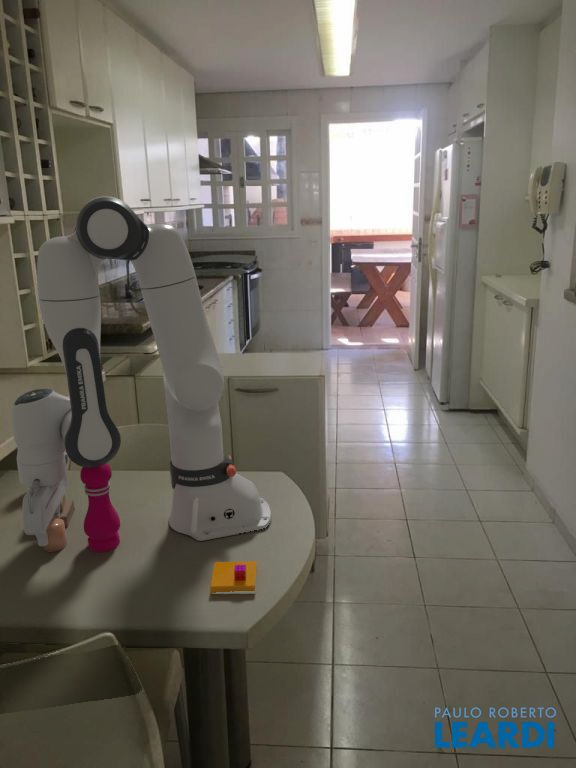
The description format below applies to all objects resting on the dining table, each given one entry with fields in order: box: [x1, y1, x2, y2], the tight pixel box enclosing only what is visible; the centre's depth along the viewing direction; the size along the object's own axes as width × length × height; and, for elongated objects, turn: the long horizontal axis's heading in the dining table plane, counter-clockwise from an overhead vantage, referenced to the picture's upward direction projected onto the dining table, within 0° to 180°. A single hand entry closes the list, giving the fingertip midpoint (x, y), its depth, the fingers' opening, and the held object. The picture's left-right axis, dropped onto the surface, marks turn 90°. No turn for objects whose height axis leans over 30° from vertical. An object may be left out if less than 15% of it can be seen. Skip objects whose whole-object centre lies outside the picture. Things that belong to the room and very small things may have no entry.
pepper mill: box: [79, 463, 121, 553], centre depth 127 cm, size 7×7×20 cm
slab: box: [60, 499, 75, 528], centre depth 140 cm, size 8×8×3 cm
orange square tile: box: [209, 560, 258, 594], centre depth 116 cm, size 8×8×4 cm
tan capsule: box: [42, 519, 68, 553], centre depth 129 cm, size 5×5×5 cm
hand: (49, 532), depth 129 cm, fingers open, 8 cm apart
